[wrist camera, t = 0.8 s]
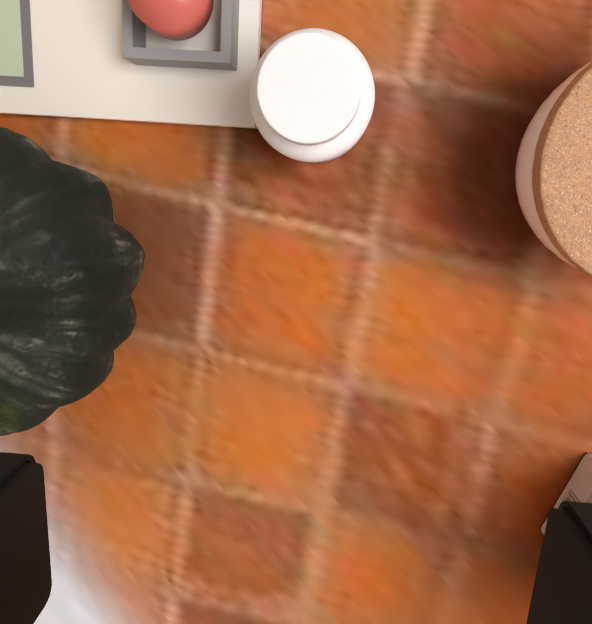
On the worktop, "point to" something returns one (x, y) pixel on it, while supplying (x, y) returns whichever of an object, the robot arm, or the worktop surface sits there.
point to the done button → (174, 16)
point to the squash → (57, 283)
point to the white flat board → (127, 63)
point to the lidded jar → (560, 171)
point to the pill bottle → (312, 95)
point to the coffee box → (577, 486)
